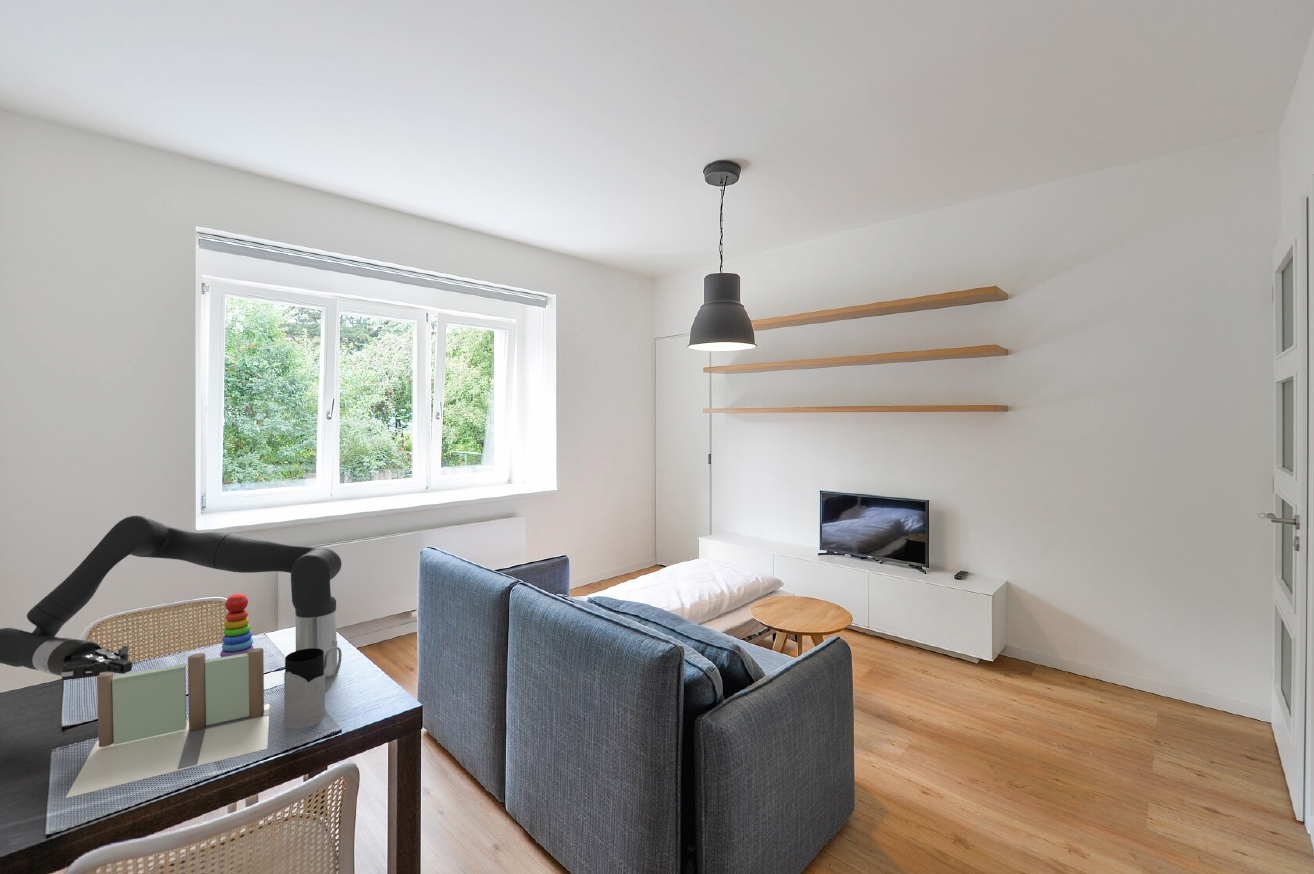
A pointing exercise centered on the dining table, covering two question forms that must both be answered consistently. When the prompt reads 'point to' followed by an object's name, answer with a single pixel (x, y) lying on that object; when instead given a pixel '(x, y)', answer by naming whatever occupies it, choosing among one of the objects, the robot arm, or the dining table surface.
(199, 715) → the fixed fence
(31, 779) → the dining table surface
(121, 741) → the fence panel
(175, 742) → the card
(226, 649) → the stacking toy
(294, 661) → the grey and black mug
